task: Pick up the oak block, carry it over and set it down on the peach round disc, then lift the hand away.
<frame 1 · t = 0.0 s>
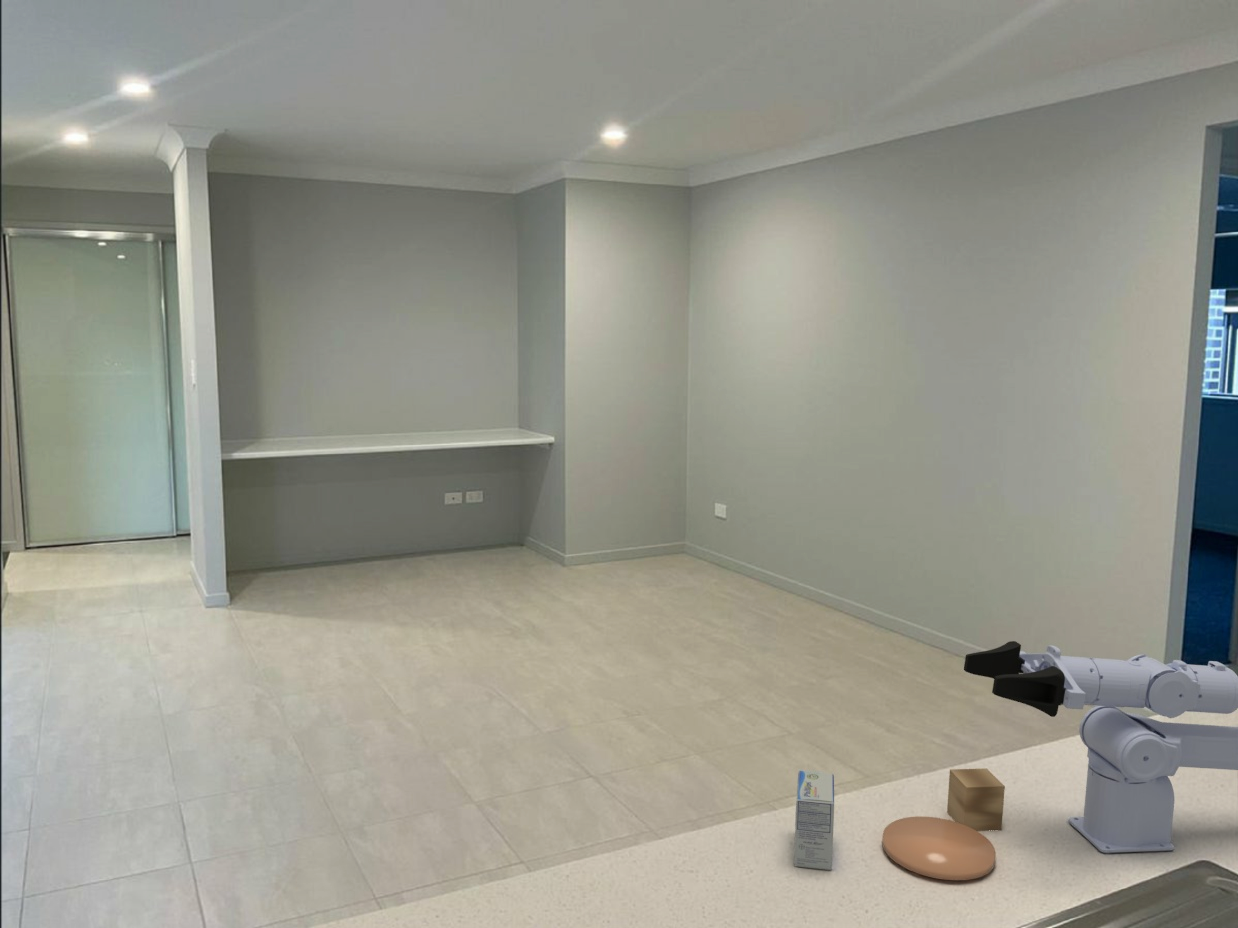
hand: (979, 673, 120), 22 cm above the countertop, tool horizontal, fingers open, 7 cm apart
oak block: (973, 821, 128), on the countertop
peach round disc: (937, 853, 120), on the countertop
medicine box: (812, 853, 120), on the countertop
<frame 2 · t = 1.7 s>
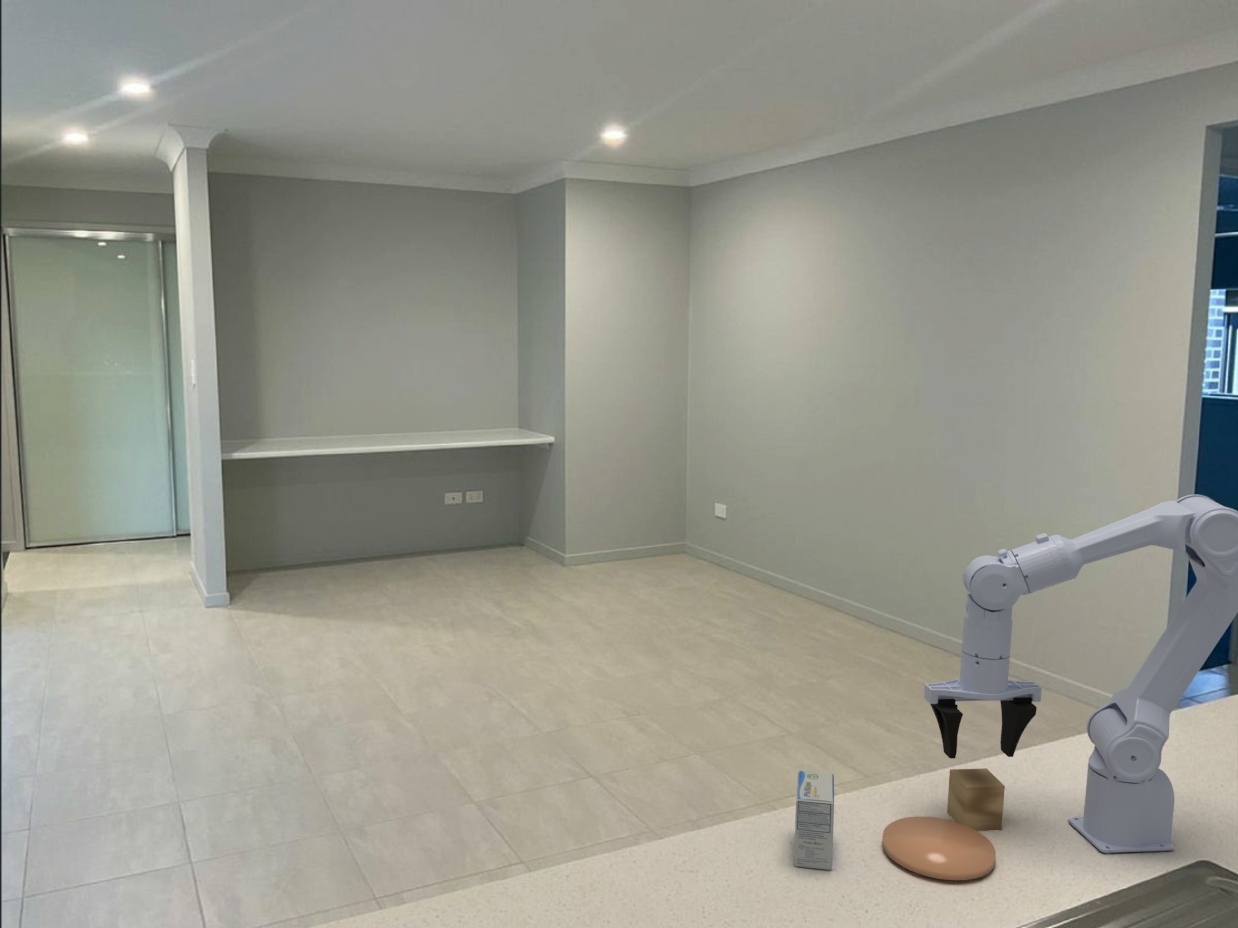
hand: (978, 754, 127), 9 cm above the countertop, tool pointing down, fingers open, 7 cm apart
nothing on the countertop moved.
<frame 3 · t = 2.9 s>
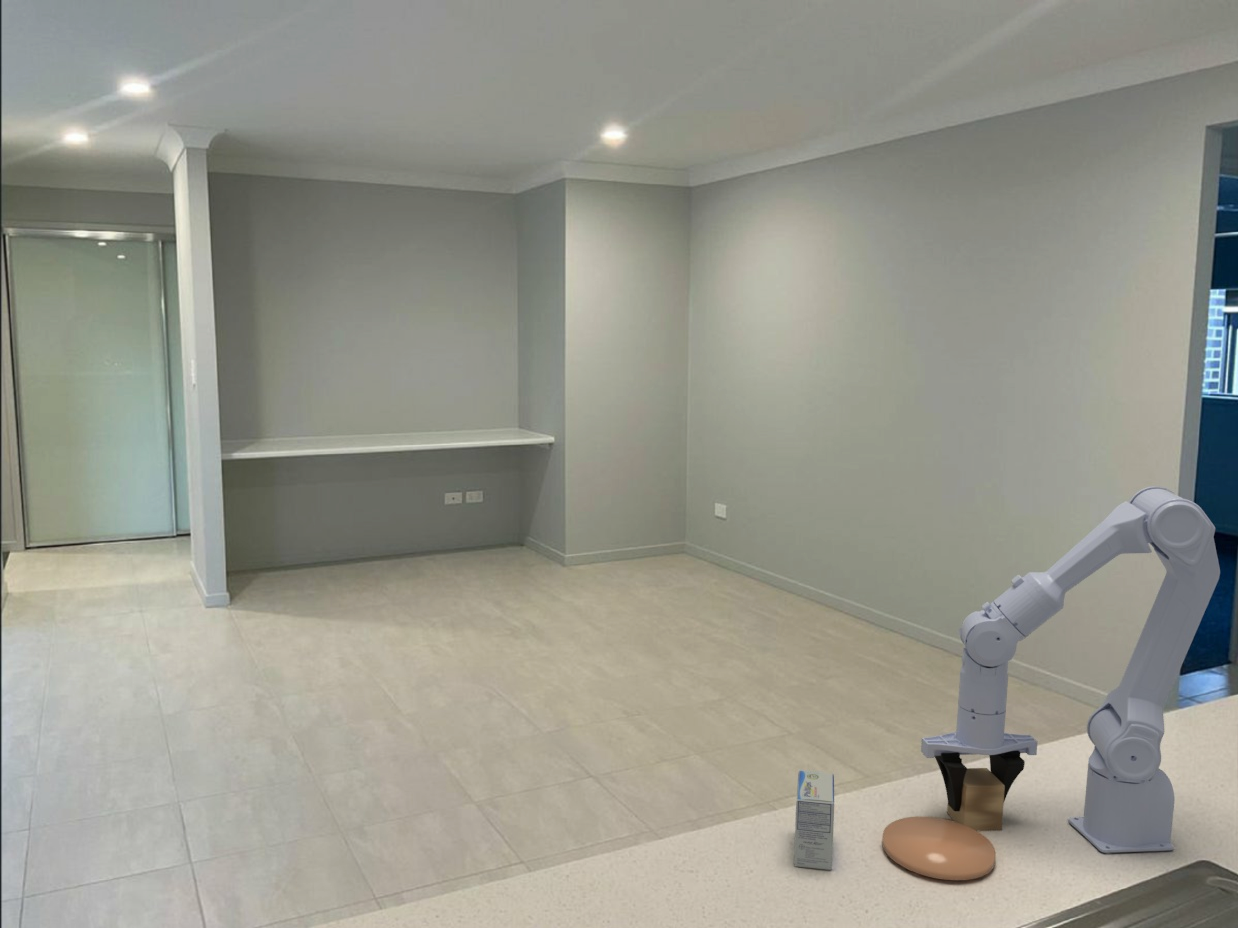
hand: (974, 806, 128), 2 cm above the countertop, tool pointing down, fingers closed on oak block, 5 cm apart
oak block: (973, 820, 128), on the countertop, touching gripper
everything else where it was.
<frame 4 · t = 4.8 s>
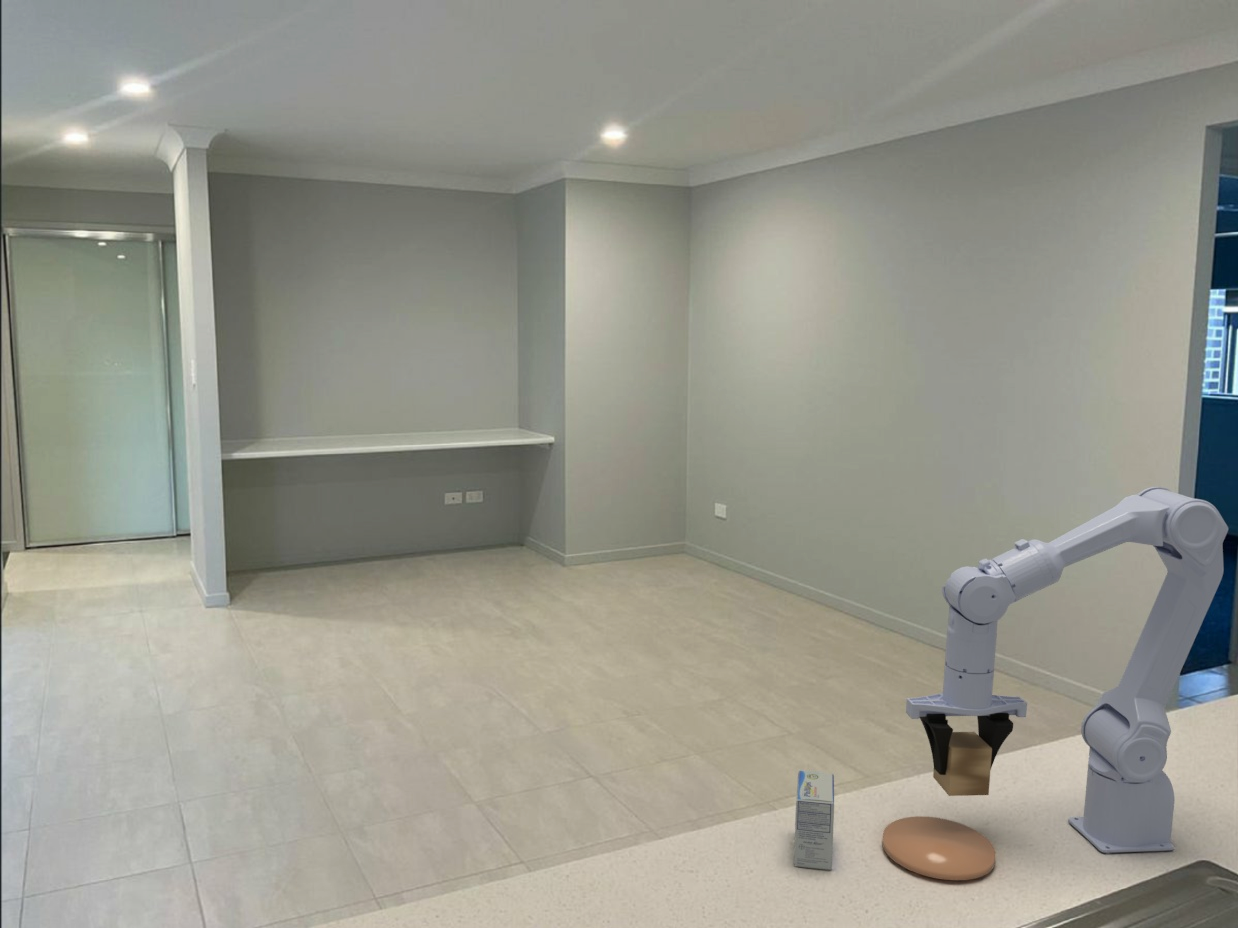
hand: (961, 770, 124), 8 cm above the countertop, tool pointing down, fingers closed on oak block, 5 cm apart
oak block: (960, 785, 124), point 6 cm above the countertop, touching gripper
everything else where it was.
when the fingers open (4 cm above the countertop, at t = 6.8 s): oak block stays where it is, resting on peach round disc.
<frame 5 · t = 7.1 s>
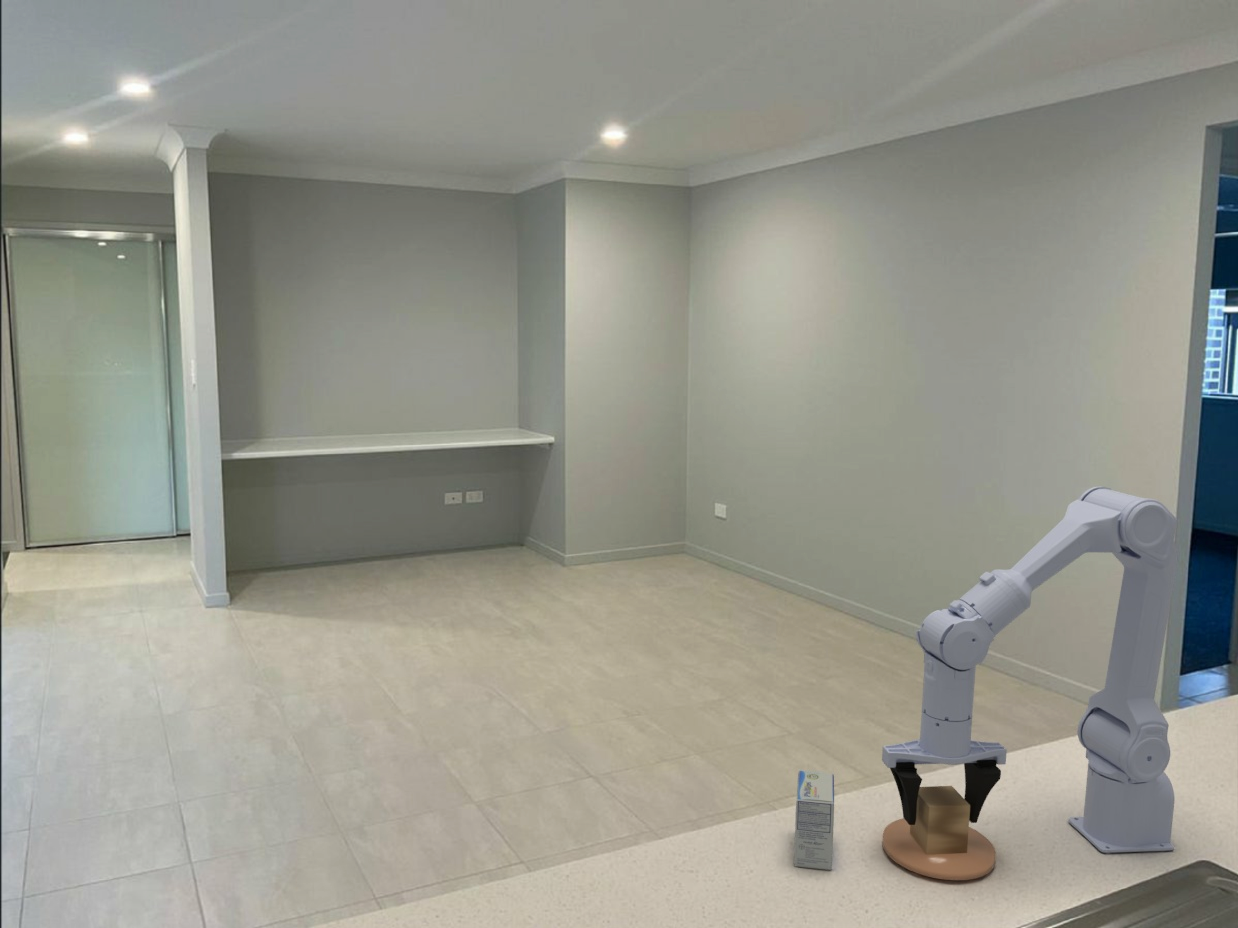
hand: (939, 819, 120), 4 cm above the countertop, tool pointing down, fingers open, 7 cm apart
oak block: (937, 842, 120), point 1 cm above the countertop, touching peach round disc
everything else where it was.
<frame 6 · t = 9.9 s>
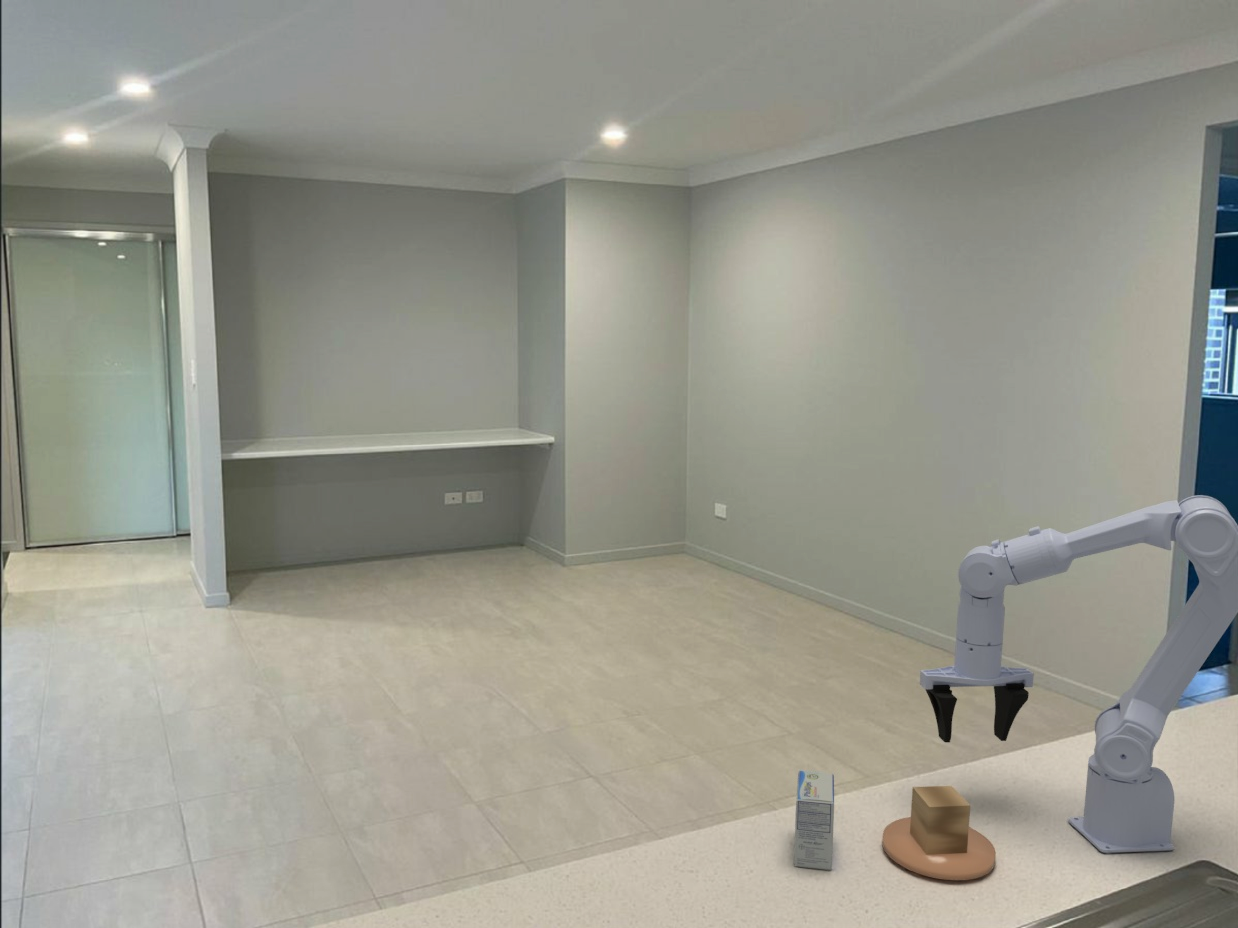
hand: (972, 738, 131), 9 cm above the countertop, tool pointing down, fingers open, 7 cm apart
nothing on the countertop moved.
at the end: oak block inside the target area on the peach round disc (0.1 cm from its centre), point 1.4 cm above the peach round disc's base; oak block tilted 0°; the gripper is holding nothing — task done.
